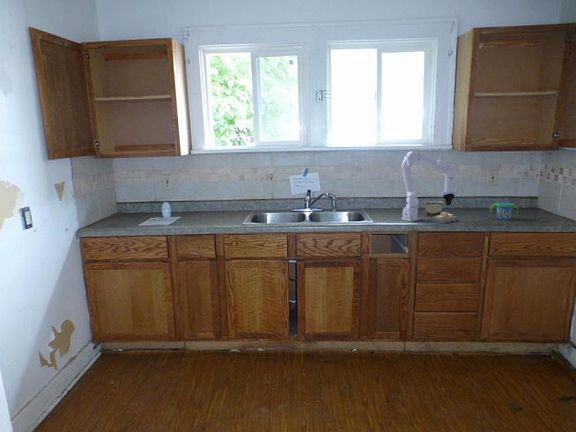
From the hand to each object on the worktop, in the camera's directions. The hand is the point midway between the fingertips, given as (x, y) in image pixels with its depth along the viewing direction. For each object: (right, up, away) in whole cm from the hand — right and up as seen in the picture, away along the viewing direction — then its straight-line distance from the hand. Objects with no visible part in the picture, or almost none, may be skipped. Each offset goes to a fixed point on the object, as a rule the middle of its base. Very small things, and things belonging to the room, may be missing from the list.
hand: (448, 205), depth 248 cm
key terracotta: (-3, -8, -1) cm, 9 cm away
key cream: (+1, -9, +2) cm, 9 cm away
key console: (-3, -10, -1) cm, 10 cm away
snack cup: (+37, -9, +2) cm, 38 cm away
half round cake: (-4, -7, +16) cm, 18 cm away
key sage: (-7, -10, -3) cm, 13 cm away
